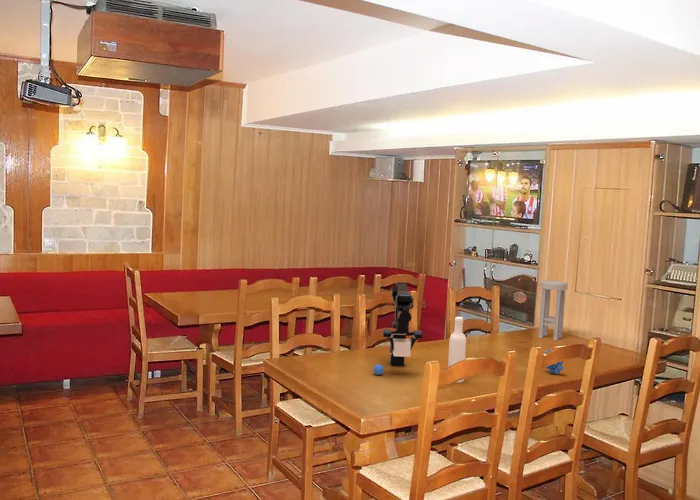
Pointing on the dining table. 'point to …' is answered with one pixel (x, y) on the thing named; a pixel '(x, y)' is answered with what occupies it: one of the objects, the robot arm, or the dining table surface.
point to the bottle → (457, 344)
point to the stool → (559, 311)
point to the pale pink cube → (402, 347)
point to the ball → (378, 369)
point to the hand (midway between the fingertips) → (401, 351)
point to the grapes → (555, 366)
